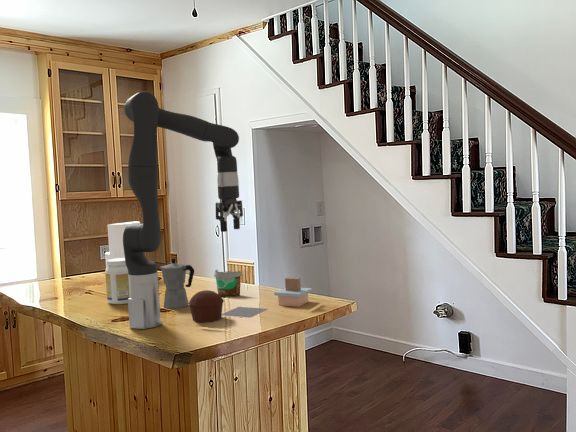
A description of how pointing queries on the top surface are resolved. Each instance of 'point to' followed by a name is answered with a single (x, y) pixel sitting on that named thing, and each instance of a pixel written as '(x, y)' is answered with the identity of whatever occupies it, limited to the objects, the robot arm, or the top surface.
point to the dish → (293, 300)
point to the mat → (244, 312)
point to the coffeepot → (176, 284)
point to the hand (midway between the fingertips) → (230, 230)
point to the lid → (293, 288)
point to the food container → (228, 283)
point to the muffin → (206, 306)
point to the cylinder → (116, 240)
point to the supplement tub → (117, 281)
